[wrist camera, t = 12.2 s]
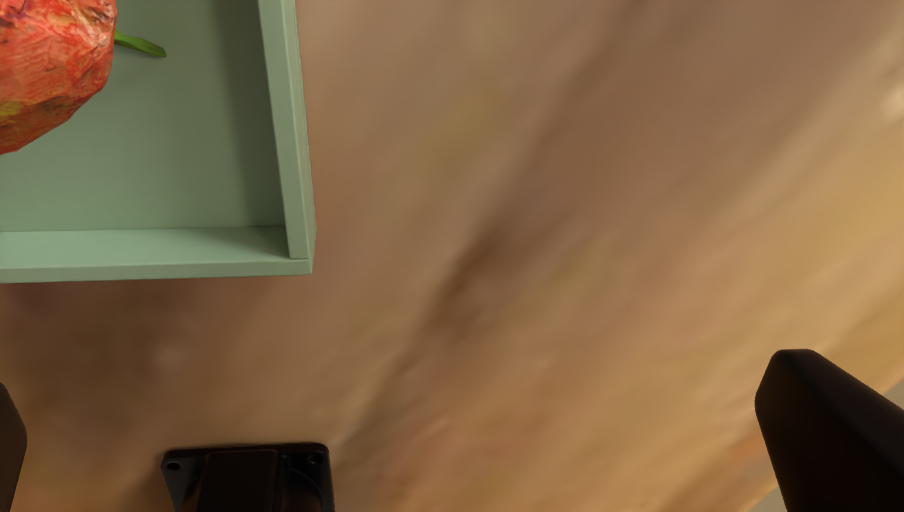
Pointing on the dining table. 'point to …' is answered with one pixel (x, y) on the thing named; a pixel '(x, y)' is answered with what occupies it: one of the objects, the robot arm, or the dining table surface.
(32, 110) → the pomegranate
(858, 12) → the dining table surface
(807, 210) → the dining table surface
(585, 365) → the dining table surface
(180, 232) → the tray
